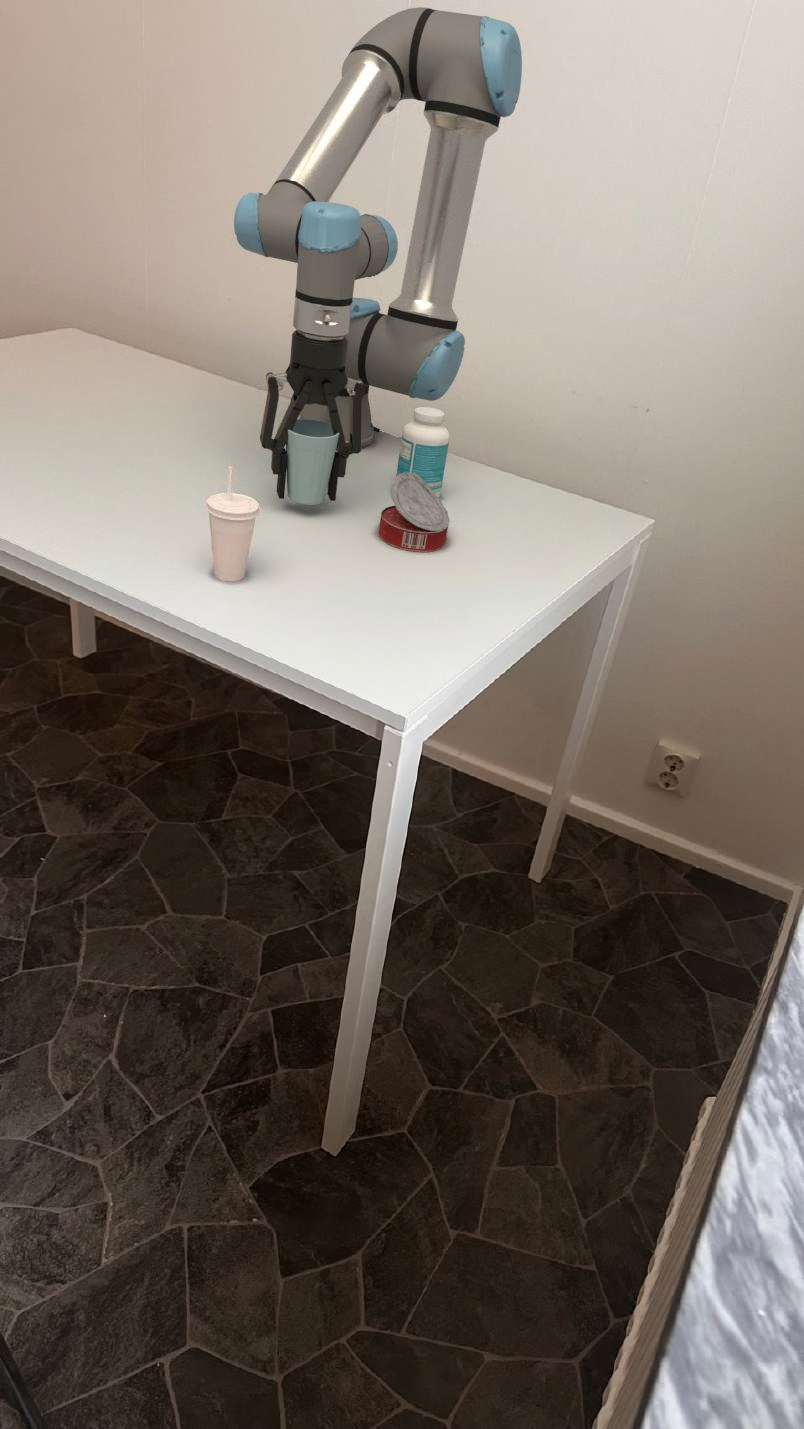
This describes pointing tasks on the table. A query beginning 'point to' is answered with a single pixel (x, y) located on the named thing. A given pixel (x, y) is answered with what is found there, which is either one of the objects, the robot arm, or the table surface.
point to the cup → (309, 460)
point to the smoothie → (231, 531)
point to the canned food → (414, 516)
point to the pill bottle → (425, 447)
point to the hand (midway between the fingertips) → (306, 496)
